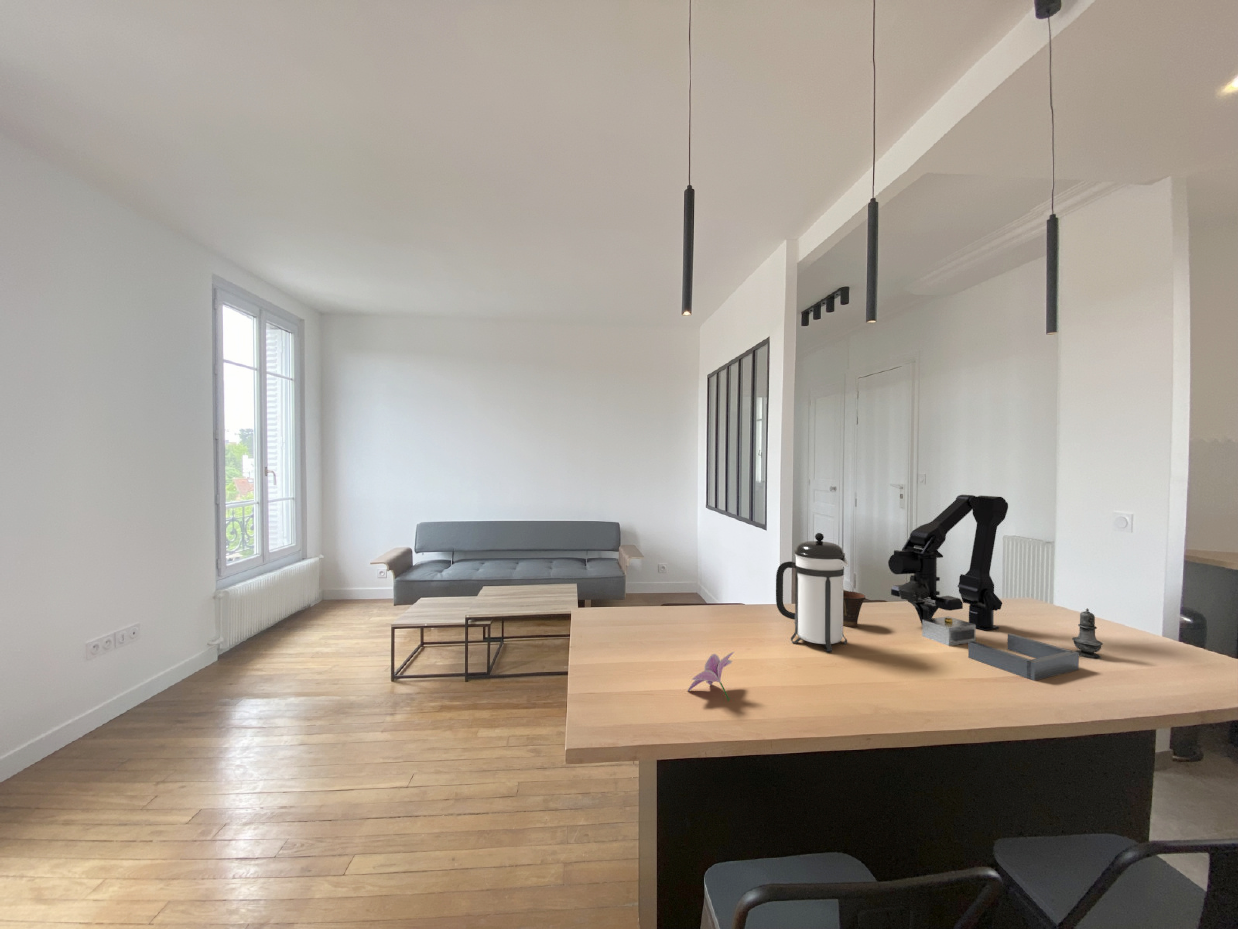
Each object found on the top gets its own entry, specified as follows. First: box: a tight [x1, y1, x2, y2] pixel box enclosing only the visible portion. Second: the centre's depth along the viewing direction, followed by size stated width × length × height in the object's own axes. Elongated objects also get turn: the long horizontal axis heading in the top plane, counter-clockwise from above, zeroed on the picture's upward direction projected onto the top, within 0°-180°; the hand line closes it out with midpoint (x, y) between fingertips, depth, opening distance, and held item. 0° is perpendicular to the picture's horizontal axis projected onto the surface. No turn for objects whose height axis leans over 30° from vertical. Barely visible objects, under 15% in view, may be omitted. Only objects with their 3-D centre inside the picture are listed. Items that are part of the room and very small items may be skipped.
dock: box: [967, 633, 1080, 682], centre depth 125 cm, size 17×15×4 cm
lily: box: [686, 651, 735, 702], centre depth 107 cm, size 12×12×10 cm
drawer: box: [921, 616, 977, 647], centre depth 142 cm, size 10×9×6 cm
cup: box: [843, 590, 866, 628], centre depth 154 cm, size 9×9×10 cm
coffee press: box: [775, 532, 850, 653], centre depth 139 cm, size 17×16×30 cm
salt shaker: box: [1071, 608, 1104, 660], centre depth 131 cm, size 6×6×12 cm
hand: (924, 626), depth 149 cm, fingers closed
